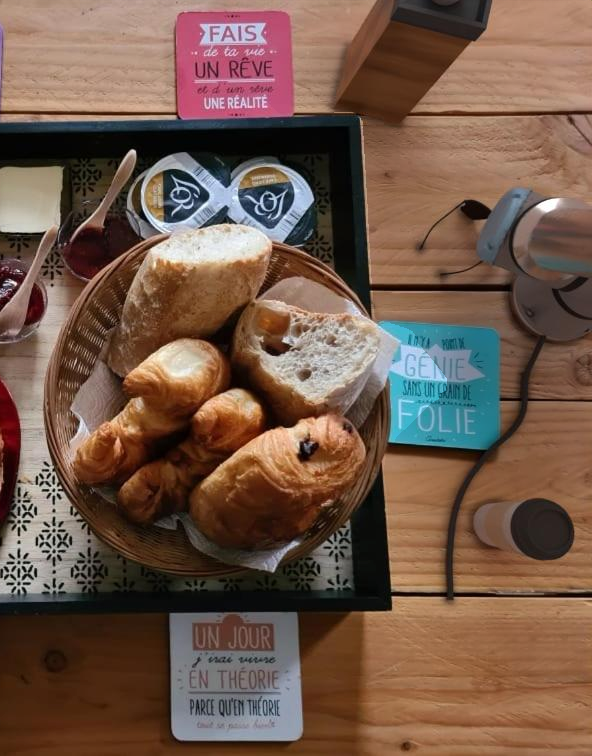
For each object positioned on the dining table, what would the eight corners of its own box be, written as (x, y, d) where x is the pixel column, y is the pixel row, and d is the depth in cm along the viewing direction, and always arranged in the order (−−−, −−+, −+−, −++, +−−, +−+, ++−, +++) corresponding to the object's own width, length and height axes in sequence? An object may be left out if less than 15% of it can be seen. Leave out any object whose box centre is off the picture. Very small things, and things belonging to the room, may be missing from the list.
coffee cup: (485, 562, 119) (542, 573, 104) (455, 512, 120) (508, 516, 105) (532, 536, 119) (595, 543, 105) (502, 487, 121) (561, 487, 106)
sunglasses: (503, 248, 126) (517, 240, 121) (445, 288, 127) (457, 282, 122) (464, 200, 128) (477, 190, 123) (407, 240, 128) (417, 232, 123)
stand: (399, 124, 130) (473, 39, 105) (333, 107, 130) (391, 18, 105) (413, 64, 131) (489, -34, 107) (348, 47, 132) (409, -54, 107)
